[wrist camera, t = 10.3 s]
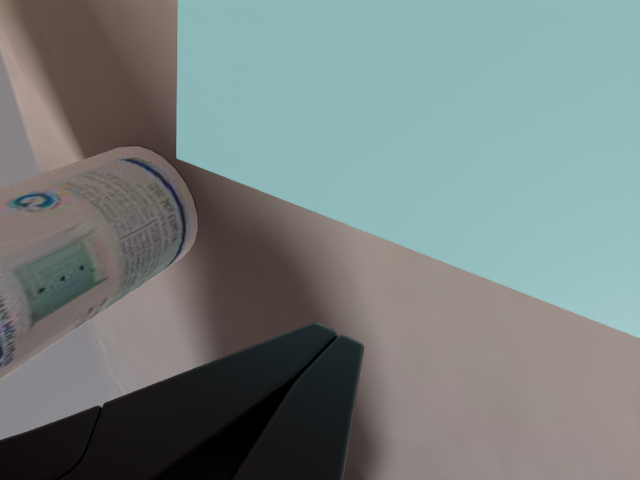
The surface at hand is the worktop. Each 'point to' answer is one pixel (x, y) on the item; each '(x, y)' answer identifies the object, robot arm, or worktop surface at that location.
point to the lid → (436, 129)
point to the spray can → (85, 244)
